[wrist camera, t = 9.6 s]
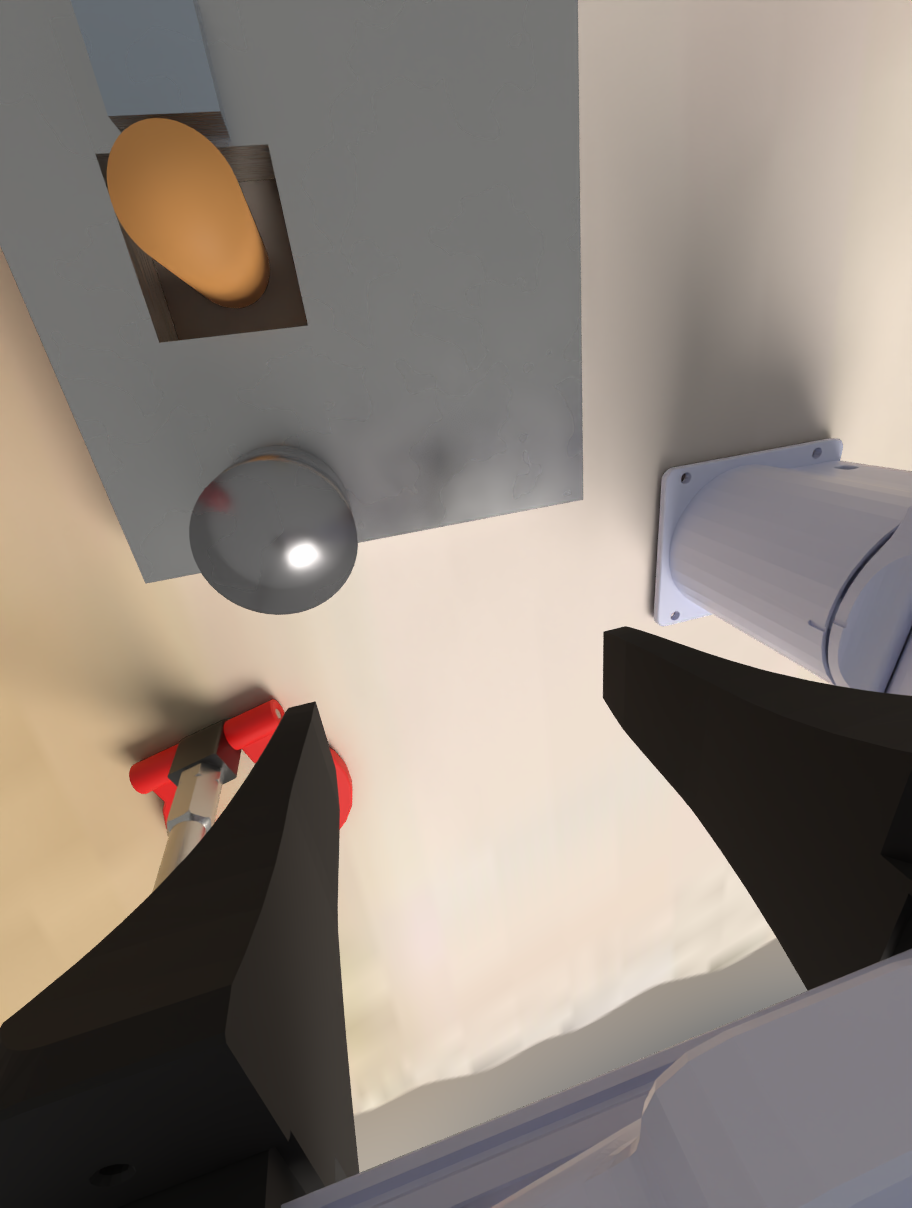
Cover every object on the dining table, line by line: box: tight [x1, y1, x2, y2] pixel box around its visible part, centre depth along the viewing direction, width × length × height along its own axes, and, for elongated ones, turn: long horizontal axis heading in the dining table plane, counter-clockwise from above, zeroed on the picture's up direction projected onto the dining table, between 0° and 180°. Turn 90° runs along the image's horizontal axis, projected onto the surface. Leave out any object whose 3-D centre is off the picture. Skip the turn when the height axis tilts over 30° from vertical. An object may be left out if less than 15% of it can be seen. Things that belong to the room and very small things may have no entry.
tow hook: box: [129, 699, 352, 891], centre depth 19 cm, size 8×13×9 cm
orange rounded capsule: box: [107, 118, 270, 308], centre depth 13 cm, size 3×3×6 cm
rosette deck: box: [0, 0, 583, 615], centre depth 15 cm, size 16×15×6 cm
